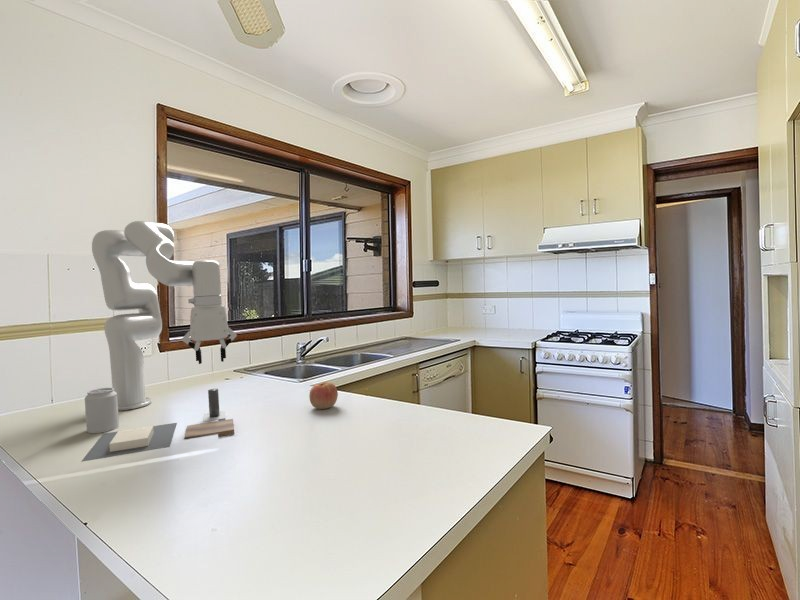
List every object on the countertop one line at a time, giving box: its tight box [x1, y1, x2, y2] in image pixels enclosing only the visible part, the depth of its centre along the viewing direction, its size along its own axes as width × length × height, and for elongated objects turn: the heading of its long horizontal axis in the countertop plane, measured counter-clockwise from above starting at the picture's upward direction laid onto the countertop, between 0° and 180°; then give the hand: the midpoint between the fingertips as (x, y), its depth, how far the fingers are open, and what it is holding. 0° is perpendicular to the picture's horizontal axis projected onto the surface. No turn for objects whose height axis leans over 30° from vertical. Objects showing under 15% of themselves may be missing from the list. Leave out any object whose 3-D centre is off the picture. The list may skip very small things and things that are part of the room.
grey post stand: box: [202, 388, 227, 423], centre depth 127 cm, size 8×6×9 cm
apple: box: [308, 381, 339, 410], centre depth 134 cm, size 9×9×8 cm
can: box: [84, 387, 120, 434], centre depth 119 cm, size 8×8×12 cm
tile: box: [109, 425, 154, 452], centre depth 108 cm, size 2×8×10 cm
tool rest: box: [184, 418, 235, 440], centre depth 116 cm, size 10×12×1 cm
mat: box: [80, 422, 178, 462], centre depth 110 cm, size 20×18×1 cm
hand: (211, 361), depth 126 cm, fingers open, 5 cm apart
